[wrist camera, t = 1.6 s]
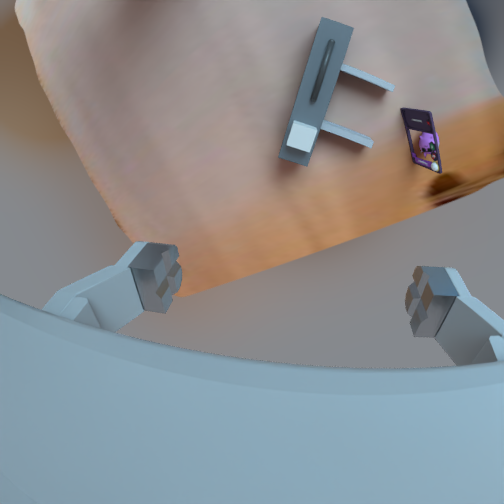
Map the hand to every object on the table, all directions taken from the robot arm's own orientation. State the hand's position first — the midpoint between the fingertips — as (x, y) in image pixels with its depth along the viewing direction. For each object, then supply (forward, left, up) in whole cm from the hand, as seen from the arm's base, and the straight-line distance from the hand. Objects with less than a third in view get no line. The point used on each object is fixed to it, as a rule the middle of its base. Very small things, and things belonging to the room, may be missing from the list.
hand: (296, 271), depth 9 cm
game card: (-4, +18, -36) cm, 41 cm away
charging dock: (-4, +4, -36) cm, 36 cm away
